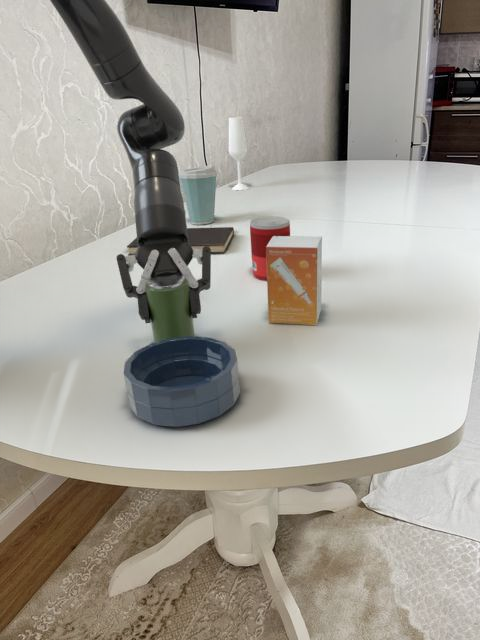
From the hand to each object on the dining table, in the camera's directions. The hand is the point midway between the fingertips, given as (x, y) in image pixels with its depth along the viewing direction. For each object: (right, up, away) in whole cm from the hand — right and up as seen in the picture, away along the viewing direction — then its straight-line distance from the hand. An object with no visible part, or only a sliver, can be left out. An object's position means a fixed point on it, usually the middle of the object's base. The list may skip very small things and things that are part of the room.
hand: (171, 318), depth 75 cm
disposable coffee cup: (-4, +32, +75) cm, 81 cm away
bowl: (+3, -11, -8) cm, 14 cm away
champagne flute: (+5, +55, +118) cm, 130 cm away
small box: (+19, +1, +13) cm, 23 cm away
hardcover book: (-6, +21, +55) cm, 59 cm away
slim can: (0, -4, +4) cm, 6 cm away
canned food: (+15, +11, +32) cm, 37 cm away
